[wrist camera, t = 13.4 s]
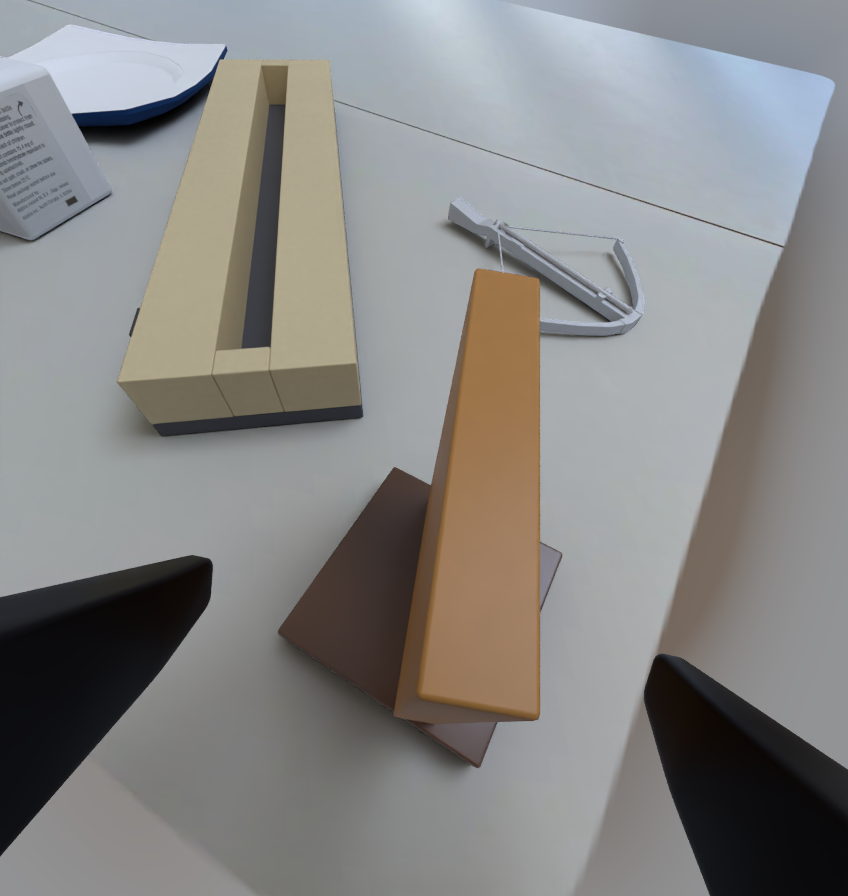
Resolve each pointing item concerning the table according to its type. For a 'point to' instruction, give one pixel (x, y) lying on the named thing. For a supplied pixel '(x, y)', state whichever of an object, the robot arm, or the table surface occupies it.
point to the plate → (121, 73)
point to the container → (41, 154)
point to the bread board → (382, 605)
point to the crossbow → (561, 274)
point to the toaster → (252, 265)
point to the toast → (482, 525)
